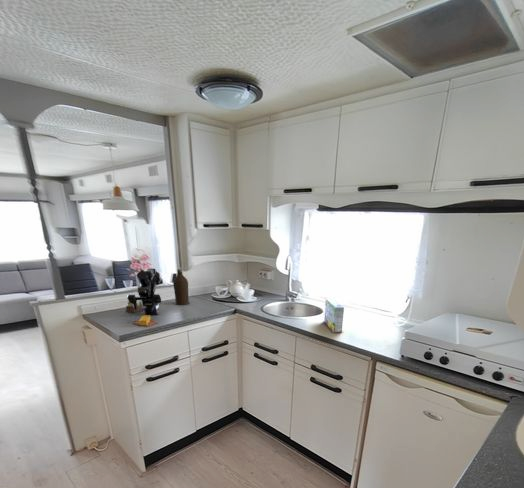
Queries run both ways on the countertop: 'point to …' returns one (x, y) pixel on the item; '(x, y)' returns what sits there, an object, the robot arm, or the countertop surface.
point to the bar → (144, 320)
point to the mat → (147, 324)
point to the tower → (131, 307)
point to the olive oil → (181, 289)
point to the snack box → (334, 315)
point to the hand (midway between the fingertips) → (143, 310)
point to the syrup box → (144, 306)
